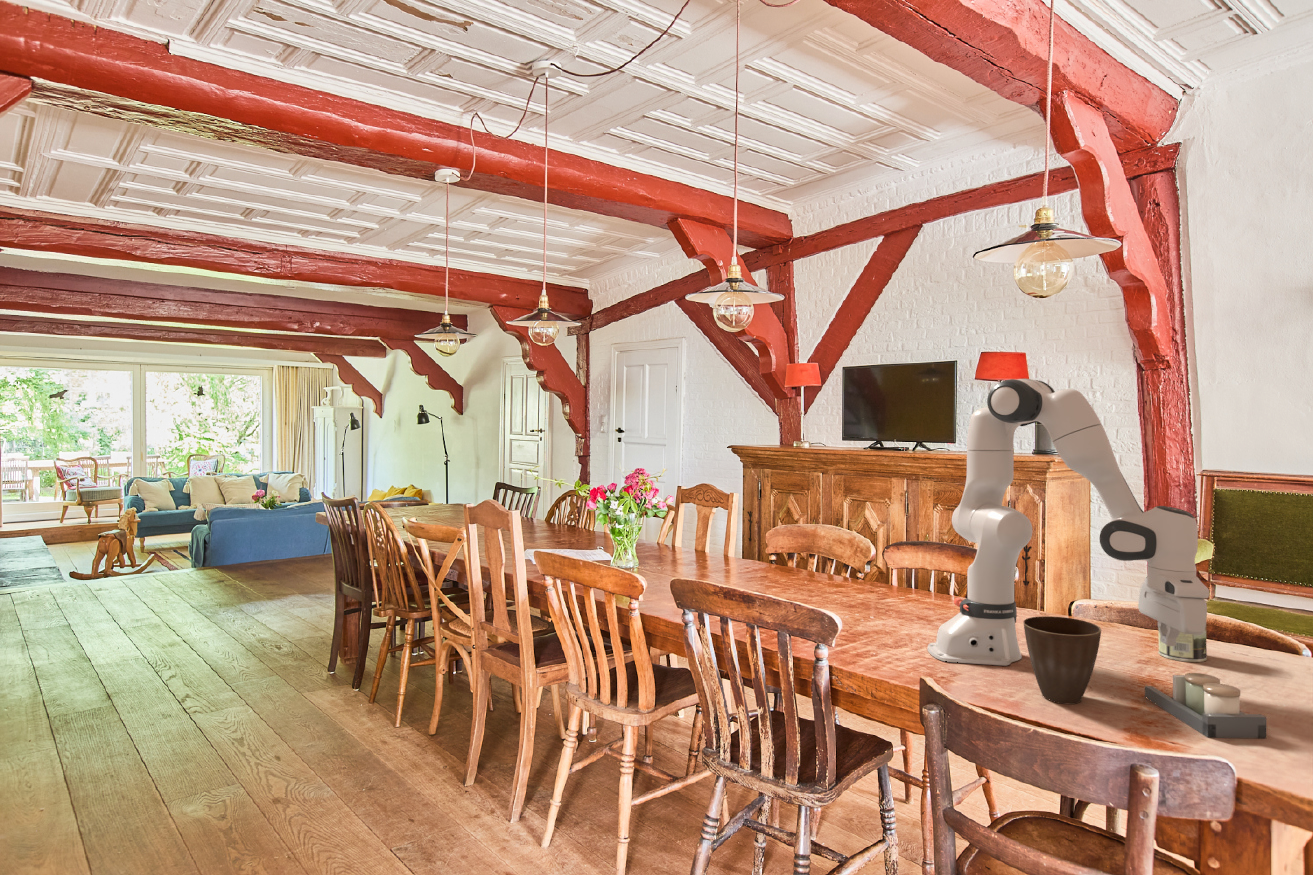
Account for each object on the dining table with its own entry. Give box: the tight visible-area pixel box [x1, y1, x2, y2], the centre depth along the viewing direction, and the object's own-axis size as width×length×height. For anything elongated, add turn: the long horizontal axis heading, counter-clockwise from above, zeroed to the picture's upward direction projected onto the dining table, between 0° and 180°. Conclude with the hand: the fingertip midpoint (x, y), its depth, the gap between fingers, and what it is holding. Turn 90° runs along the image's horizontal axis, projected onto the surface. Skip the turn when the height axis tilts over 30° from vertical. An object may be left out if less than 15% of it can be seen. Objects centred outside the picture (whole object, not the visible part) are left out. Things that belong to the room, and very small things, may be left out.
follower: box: [1172, 674, 1186, 706], centre depth 158 cm, size 7×4×7 cm, turn 86°
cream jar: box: [1203, 683, 1241, 714], centre depth 147 cm, size 6×6×8 cm
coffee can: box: [1157, 602, 1208, 663], centre depth 192 cm, size 10×10×14 cm
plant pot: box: [1023, 615, 1102, 704], centre depth 165 cm, size 15×15×16 cm
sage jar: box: [1184, 672, 1221, 716], centre depth 153 cm, size 6×6×8 cm
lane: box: [1144, 685, 1267, 739], centre depth 154 cm, size 10×21×4 cm, turn 176°
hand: (1167, 644), depth 166 cm, fingers closed
